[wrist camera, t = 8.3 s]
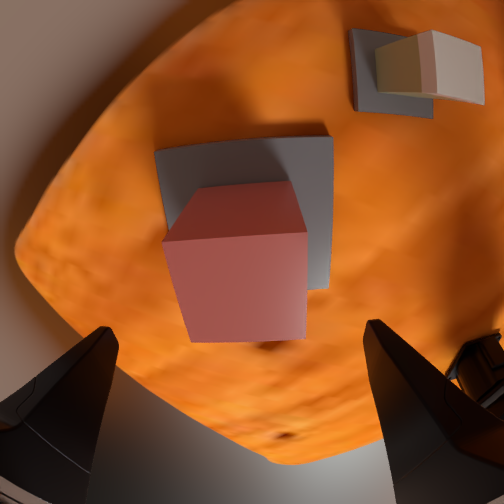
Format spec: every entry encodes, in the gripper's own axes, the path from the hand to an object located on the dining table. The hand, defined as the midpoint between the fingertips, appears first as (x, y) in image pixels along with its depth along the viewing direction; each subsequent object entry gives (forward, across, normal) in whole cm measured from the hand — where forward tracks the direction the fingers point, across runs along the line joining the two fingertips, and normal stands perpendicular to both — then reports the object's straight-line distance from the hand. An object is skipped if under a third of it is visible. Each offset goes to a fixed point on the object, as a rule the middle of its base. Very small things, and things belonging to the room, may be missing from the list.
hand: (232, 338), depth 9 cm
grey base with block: (+10, -9, -9) cm, 16 cm away
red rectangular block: (+9, 0, 0) cm, 9 cm away
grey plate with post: (+10, 0, 0) cm, 10 cm away
